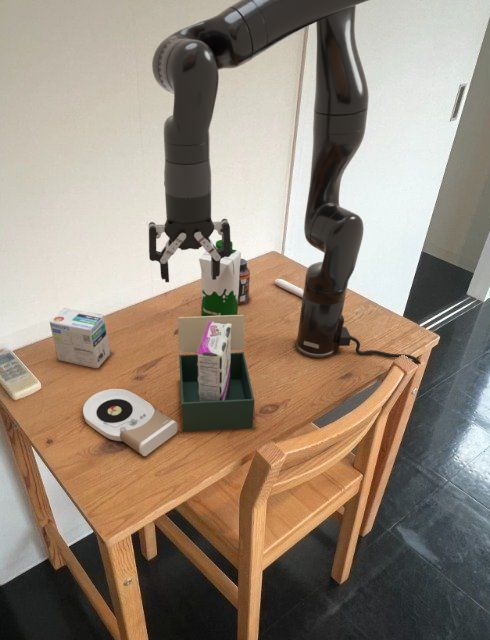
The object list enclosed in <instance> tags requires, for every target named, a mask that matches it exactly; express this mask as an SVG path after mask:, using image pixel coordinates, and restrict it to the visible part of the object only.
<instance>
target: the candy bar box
mask: <svg viewBox="0 0 490 640" xmlns="http://www.w3.org/2000/svg"><path fill="white" fill-rule="evenodd" d="M231 353H232V350H231V324H229V323H219V322H217V323H216V322H208V324H207V327H206V330H205V333H204V335H203V338H202V341H201V343H200V346H199V349H198V351H197V352H196V354H197V371H198V398H199V402H202V401H223V400H227V397H228V393H229V390H230V363H231Z"/></svg>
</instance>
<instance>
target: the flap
mask: <svg viewBox="0 0 490 640" xmlns="http://www.w3.org/2000/svg"><path fill="white" fill-rule="evenodd" d="M208 322H216V323H217V322H219V323H229V324H231V351H244V350H245V327H246V326H245V323H246V315H245V314H237V315H224V316H200V315H199V316H180V317H179V316H178V317H177V333H178V353H180V354H181V353H197V351H198V349H199V346H200V343H201V341H202V338H203V335H204V333H205V330H206V327H207V324H208Z"/></svg>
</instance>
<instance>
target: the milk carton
mask: <svg viewBox="0 0 490 640" xmlns="http://www.w3.org/2000/svg"><path fill="white" fill-rule="evenodd" d="M230 242H231V255H230V256H229V257H223V258H222V259H221V260H220V275H219V276H217V277H216V280H212V277H211V255H210V254H209V253H208V252H207V251H206V250H205V252H203V254H202V255H201V256H199V258H198V261H199V266H200V273H201V274H200V275H201V277H200V281H201V282H200V284H201V285H200V286H201V287H200V288H201V289H200V290H201V291H200V292H201V293H200V294H201V308H200V309H201V311H200V314H201V316H224V315H238V311H239V309H238V308H239V304H238V295H239V272H240V260H241V259H242V251H241V250H237V249H234V248H233V241H231V240H230ZM215 246H216V248H217V249H219V248H222V239H219V240H217V241H216V242H215Z"/></svg>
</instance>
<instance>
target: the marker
mask: <svg viewBox="0 0 490 640" xmlns="http://www.w3.org/2000/svg"><path fill="white" fill-rule="evenodd" d="M274 282H275V284H276V285H277V287H280V288H281V289H284V290H285V291H287V292H289V293H292V294H294V295H295V296H297V297H300V298H302V299H303V292H304V288H303V289H302V288H300V287H299V286H296V285H294V284H292V283H291V282H289V281H287V280H284V279H282V278H275V279H274Z"/></svg>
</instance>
